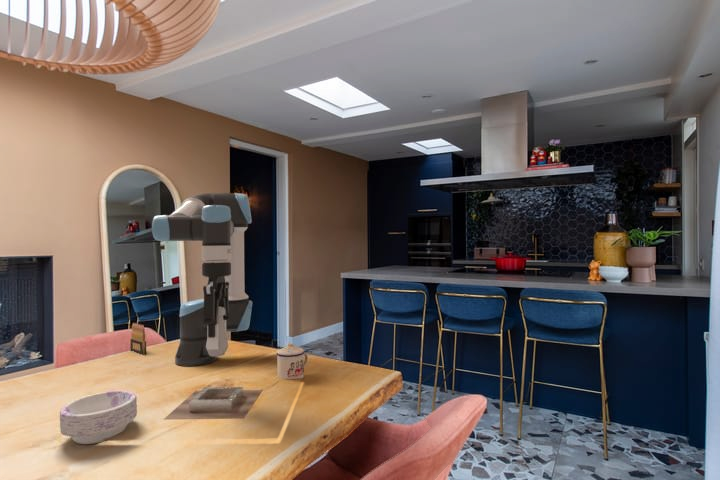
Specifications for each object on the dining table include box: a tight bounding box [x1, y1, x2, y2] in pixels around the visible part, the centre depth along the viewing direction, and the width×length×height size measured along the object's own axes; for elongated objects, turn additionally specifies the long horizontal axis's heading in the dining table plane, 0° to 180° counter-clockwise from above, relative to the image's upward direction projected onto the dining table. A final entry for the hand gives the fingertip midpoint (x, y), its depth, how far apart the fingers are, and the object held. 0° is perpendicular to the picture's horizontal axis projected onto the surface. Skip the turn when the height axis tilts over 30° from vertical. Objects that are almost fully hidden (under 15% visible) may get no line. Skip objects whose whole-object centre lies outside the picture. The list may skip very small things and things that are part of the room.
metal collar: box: [189, 386, 244, 412], centre depth 112 cm, size 11×11×2 cm
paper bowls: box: [59, 390, 138, 445], centre depth 96 cm, size 15×15×8 cm
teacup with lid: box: [276, 342, 309, 380], centre depth 137 cm, size 12×9×12 cm
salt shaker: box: [206, 307, 229, 357], centre depth 112 cm, size 6×6×13 cm
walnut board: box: [163, 389, 263, 420], centre depth 112 cm, size 20×20×1 cm
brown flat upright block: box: [129, 322, 147, 355], centre depth 172 cm, size 11×2×12 cm, turn 52°
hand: (217, 346), depth 112 cm, fingers closed on salt shaker, 6 cm apart
